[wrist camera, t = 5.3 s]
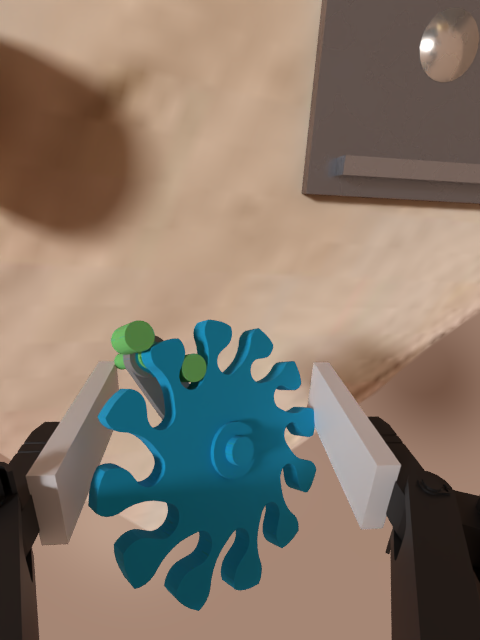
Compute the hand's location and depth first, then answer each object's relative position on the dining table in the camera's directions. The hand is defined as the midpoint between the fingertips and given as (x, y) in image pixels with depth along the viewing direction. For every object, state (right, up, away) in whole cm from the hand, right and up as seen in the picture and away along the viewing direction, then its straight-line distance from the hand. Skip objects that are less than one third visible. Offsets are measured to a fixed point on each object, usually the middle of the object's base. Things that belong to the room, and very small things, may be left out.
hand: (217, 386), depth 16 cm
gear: (0, 0, 0) cm, 1 cm away
